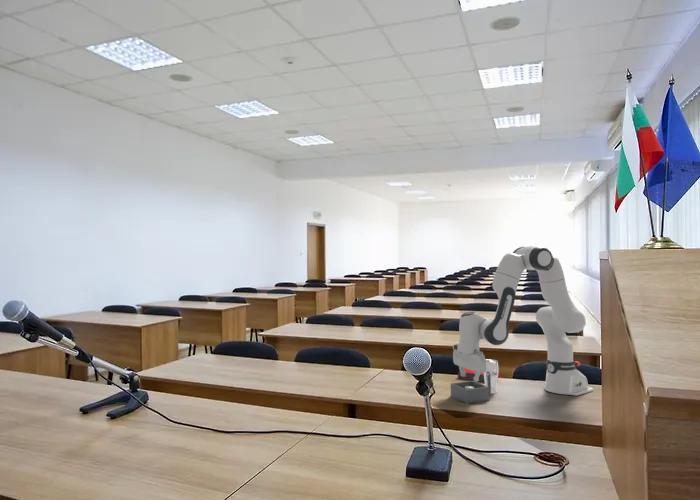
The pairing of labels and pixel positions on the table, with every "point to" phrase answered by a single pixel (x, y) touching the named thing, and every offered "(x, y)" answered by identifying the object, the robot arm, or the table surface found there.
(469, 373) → the red device housing
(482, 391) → the bin
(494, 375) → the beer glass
